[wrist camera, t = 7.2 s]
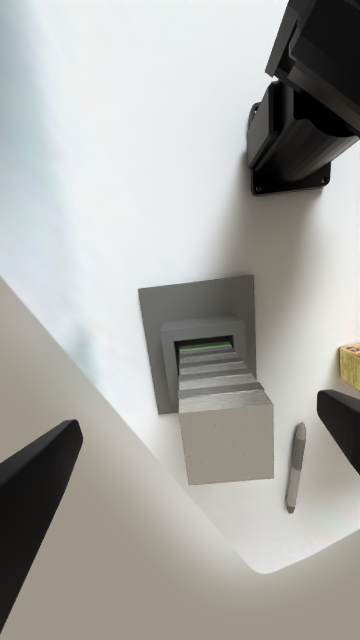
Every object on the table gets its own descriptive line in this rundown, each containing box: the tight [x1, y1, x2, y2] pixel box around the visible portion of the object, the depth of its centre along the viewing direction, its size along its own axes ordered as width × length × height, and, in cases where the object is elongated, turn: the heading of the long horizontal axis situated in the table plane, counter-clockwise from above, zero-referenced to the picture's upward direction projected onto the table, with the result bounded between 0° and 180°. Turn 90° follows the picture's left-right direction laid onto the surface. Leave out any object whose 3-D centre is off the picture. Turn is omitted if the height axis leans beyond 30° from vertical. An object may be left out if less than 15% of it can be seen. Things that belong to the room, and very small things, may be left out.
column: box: [178, 341, 274, 485], centre depth 12 cm, size 4×4×8 cm
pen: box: [286, 422, 306, 514], centre depth 23 cm, size 1×14×1 cm, turn 2°
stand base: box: [138, 275, 257, 414], centre depth 18 cm, size 11×14×5 cm
